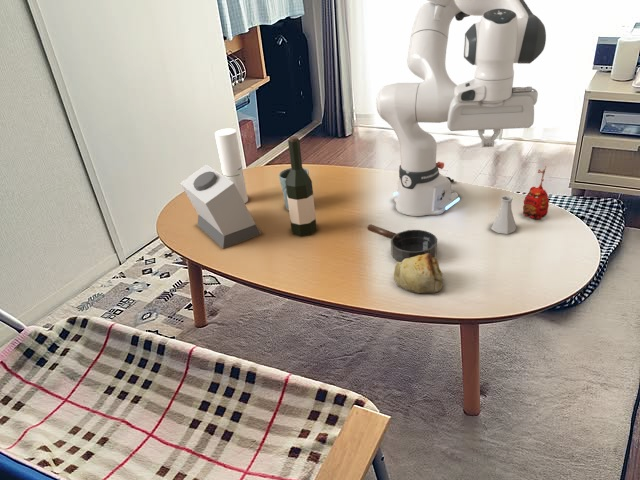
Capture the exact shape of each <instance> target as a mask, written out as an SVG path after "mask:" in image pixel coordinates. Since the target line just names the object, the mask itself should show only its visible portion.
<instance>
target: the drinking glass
mask: <svg viewBox="0 0 640 480" xmlns="http://www.w3.org/2000/svg"><path fill="white" fill-rule="evenodd" d="M303 169H304V170H305V171H306V173H307V174H308V175H309V176H310V172H309V170H308V169H307V168H305V167H303ZM290 170H291V167H289V168H286V169H284V170H282V171H280V173H278V179H279V181H280V187H281V191H282V195H283V199H284V206H285V209H286V210H287V211H289V207H288V199H287V192H286V184H285V180H286V178H287V176H288V174H289V172H290Z"/></svg>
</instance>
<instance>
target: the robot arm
mask: <svg viewBox="0 0 640 480" xmlns="http://www.w3.org/2000/svg"><path fill="white" fill-rule="evenodd" d="M470 16H475V17H478V16H479V17H480V21H479V22H476V23H473V24H472V25H471V26H469V28H467V30H466V32H465V33H464V45H463V59H464V60H466V61H467V62H468V63H469V64H470V65H472V66H476V69H475V71H474V75H473V76H474V78H473V79H471V80H468V81H466V82H463V83H460V84H456V82H454V81H453V80H452V79H451V78H450V76H449V73H448V71H447V67H446V61H447V49H448V42H449V41H448V40H449V32H450V25H451V23H452V20H453V19H454V18H455V20H456V21H458V22H460V21H463V20H464V18H467V17H470ZM546 42H547V31H546V27H545V24H544V23H543V21H542V20H541V19H540V17H538V16H537V15H535V14H534V13H533V11H532V10H531V8H530V7H529V6H528V4H527V3H526V1H525V0H427V3H425V4H423V5H421V6H420V8H419V9H418V11H417V13H416V16H415V19H414V22H413V26H412V30H411V34H410V40H409V45H408V52H407V57H406V58H407V59H406V63H407V68H408V69H409V71H410V72H411V73H412V74H413V75H414V76H416V77H418V78H420V79H422V80H423V82H396V83H391V84H386V85H384V86H383V87H381V89H380V90H379V91H378V93H377V95H376V96H377V97H376V102H375V108H376V111H377V113H378V115H379V117H380V118H381V119H382V120H383V121H385V122H386V123H387V124H388V125H389V126H390V127H391V128H392V130H393V131H394V133H395V136H396V137H397V140H398V144H399V155H400V165H399V166H398V167H399V168H398V180H397V186H396V187H397V188H396V189H397V190H396V191H395V192H393V194H392V195H393V196H395V197H394V199H393V200H394V203H395V210H396V211H397V212H399V213H400V214H402V215H406V216H412V217H422V216H430V215H432V216H433V215H436V216H438V215H439V216H440V215H442V214H443V213H444V212H445V211H447V210H448V209H450V208H451V207H452V206H453V205H455V204H456V203H458V202H459V201H460V197H459V194H458V192H456V191H454V189H453V190H452V183H454V182H455V179H453V178H451V177H450V176H446V175H443V174H441V173H440V170H443V169H444V167H445V162H441V161H437V150H438V149H437V148H438V144H437V140H436V139H435V138H434V137H435V136H433V135H432V134H431V133H429V132H427V131H426V130H424V129H423V128H422V127H421V126H420V125H419V123H427V124H429V123H430V124H431V123H432V124H440V123H441V124H442V123H446V125H447V129H448V130H449V131H450V132H463V131H477V135H478V136H479V138H480V141H481V143H480V146H481V148H494V147H495V141H496V140H497V138H498V136H499V135H500V133H501V130H510V129H511V130H513V129H530V128H531V127H532V126H533V125H534V122H535V105H536V104H537V101H538V95H539V93H538V90H536V88H534V87H532V86H525V87H524V86H523V87H521V86H516V87H515V86H514V76H515V70H514V64H520V65H521V64H529V65H530V64H531V63H533V62H534V61H535V60H536V59H538V58H539V56H540V55H541V54H542V53H543V52H544V49H545V47H546ZM486 130H487V131H488V130H492V131H493V134H492V135H491V137H485V136H484V135H485V131H486ZM439 169H440V170H439Z"/></svg>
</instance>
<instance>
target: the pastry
mask: <svg viewBox="0 0 640 480" xmlns="http://www.w3.org/2000/svg"><path fill="white" fill-rule="evenodd" d="M393 273H394V274H393V277H394V278H393V279H394V282H395V283H396V285H397V287H399V288H401V289H403V290H406V291H408V292H412V293H416V294H433V293H437V292H440V291H442V288H443V278H442V277H443V272H442V270H441V269H440V265H439V261H438V259H437V258H436V257H435V258H434V257H432V255H431V254H430V253H427V254H423V255H418V256H415V257H410V258H406V259H404V260H403V261H402V262H398V261H396V264H395V266H394V272H393Z"/></svg>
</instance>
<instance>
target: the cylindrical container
mask: <svg viewBox="0 0 640 480" xmlns="http://www.w3.org/2000/svg"><path fill="white" fill-rule="evenodd" d="M214 137H215V143H216V147H217V153H218V157H219V162H220V167H221V174H222V175H223V176H225V177H226V178H227V179H229V180H230V181H232V182H233V183H234V184H235V186H236V188H237V190H238V192H239V194H240V195H241V197H242V199H243V201H244V203H245V204H246V203H248V202H249V197H248V192H247V187H246V180H245V175H244V169H243V163H242V157H241V152H240V147H239V140H238V135H237V129H235V128H233V127H231V128H230V127H227V128H226V127H225V128H221V129H218V130H216V131H214Z"/></svg>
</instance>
